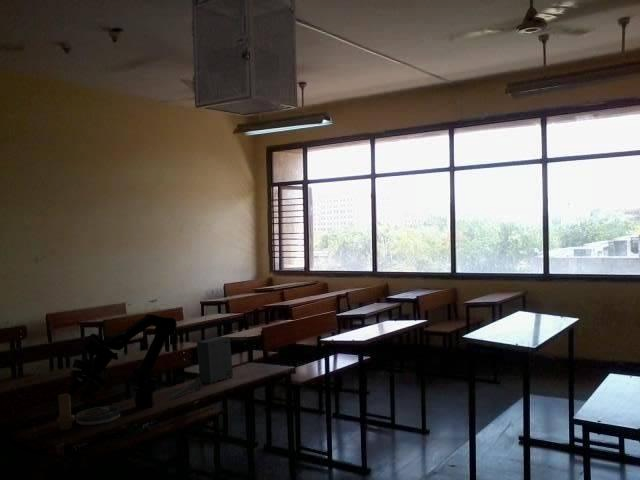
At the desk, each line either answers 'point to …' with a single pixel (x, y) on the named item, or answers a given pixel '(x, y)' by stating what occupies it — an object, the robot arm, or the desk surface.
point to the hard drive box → (214, 359)
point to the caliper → (191, 386)
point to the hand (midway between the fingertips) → (74, 397)
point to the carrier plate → (98, 415)
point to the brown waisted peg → (65, 412)
